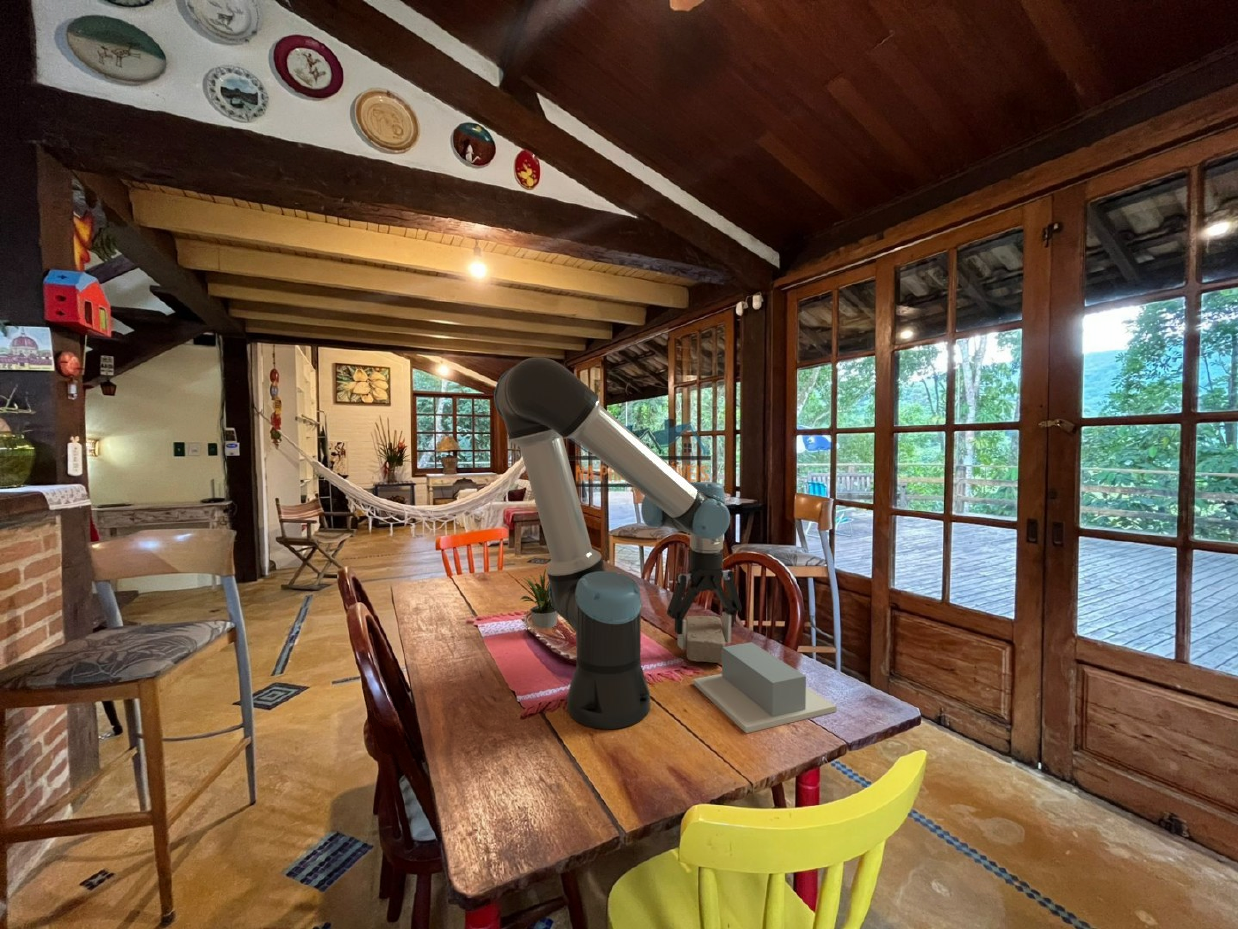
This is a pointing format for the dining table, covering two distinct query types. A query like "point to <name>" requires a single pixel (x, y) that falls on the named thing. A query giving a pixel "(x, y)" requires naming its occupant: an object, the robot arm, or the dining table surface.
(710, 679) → the tower base
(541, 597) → the house plant
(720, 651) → the brick
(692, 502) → the robot arm
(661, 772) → the dining table surface
